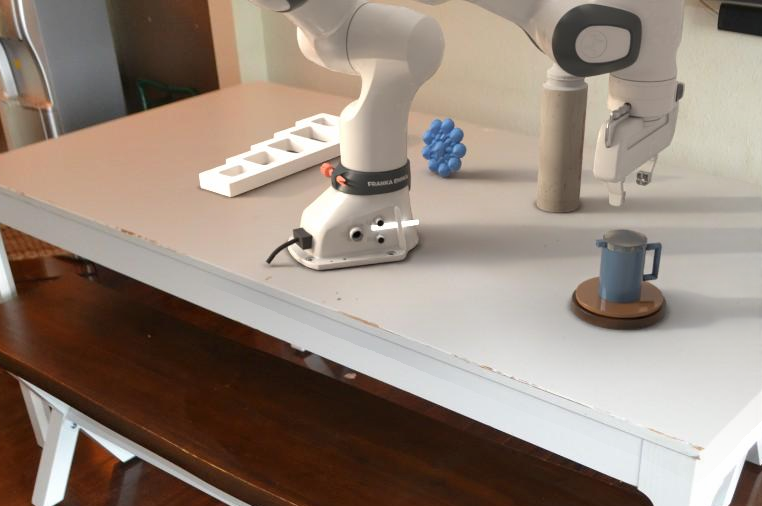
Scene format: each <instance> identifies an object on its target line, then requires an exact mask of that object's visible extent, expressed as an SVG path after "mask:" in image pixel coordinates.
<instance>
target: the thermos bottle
mask: <svg viewBox="0 0 762 506" xmlns="http://www.w3.org/2000/svg"><path fill="white" fill-rule="evenodd" d="M545 78H546V80H545V81H544V82H543V83H542V88H541V89H542V91H541V106H540V107H541V110H540V128H539V145H538V146H539V150H538V152H539V153H538V157H539V158H538V170H537V187H536V189H537V190H536V207H538V208H539V209H540V210H542V211H545V212H549V213H555V214H556V213H557V214H558V213H561V214H563V213H569V212H573V211H575V210H577V209H578V208H579V207H580V198H581V187H582V172H583V171H582V170H583V160H584V156H583V155H584V143H585V134H586V133H585V132H586V120H587V119H586V118H587V105H588V95H589V94H588V93H589V84H588V83H587V82H586V81H585V79H586V77H577V76H573V75H571V74H568V73H566V72H565V71H563V70H562V69H561V68H560V67H559V66H557V65H556V64H555V63H554V62H553V61H552V66H551V67H549V68H548V69H547V71H546V76H545Z"/></svg>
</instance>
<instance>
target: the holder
mask: <svg viewBox="0 0 762 506" xmlns="http://www.w3.org/2000/svg"><path fill="white" fill-rule="evenodd" d="M339 117H340V116H337V115H332V114H329V113H324V112H321V113H318V114H315V115H313V116H309V117H306V118H304V119H301V120H300V119H299V120H297V121H295V126H292V127H289V128H286V129H284V130H280V131H277V132H274V133H273V138H270V139H268V140H264V141H262V142H259V143H255V144H253V145H250V150H248V151H246V152H243V153H240V154H237V155H234V156H231V157H228V158H226V159H225V164H222V165H219V166H217V167H214V168H212V169H207V170H205V171H203V172H200V173H199V174H198V177H199V184H200V188H201V189H203V190H207V191H210V192H213V193H217V194H219V195H222V196H226V197H229V198H233V197H235V196H238V195H241V194H243V193H246V192H249V191H251V190H254V189H256V188H259V187H262V186H265V185H267V184H269V183H273V182H275V181H279V180H280V179H283V178H286V177H288V176H290V175H293V174H296V173H299V172H301V171H304V170H306V169H308V168H309V169H310V168H312V167H314V166H317V165H319V164H322V163H325V162H327V161H330V160H332V159H335V158H338V157H341V153H340V136H339Z"/></svg>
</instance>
